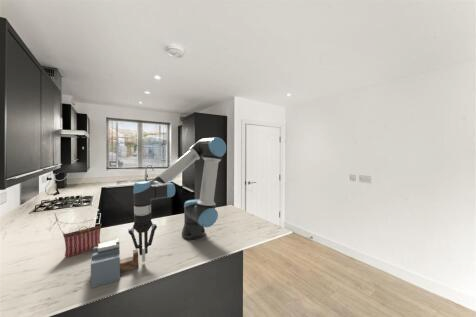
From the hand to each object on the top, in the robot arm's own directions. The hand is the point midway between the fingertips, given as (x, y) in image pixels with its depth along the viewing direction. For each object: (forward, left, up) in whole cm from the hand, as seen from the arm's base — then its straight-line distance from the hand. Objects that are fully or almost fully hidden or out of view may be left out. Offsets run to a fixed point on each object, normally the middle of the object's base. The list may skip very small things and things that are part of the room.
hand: (143, 260), depth 95 cm
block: (+15, 0, -2) cm, 15 cm away
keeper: (+14, 0, +8) cm, 16 cm away
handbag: (+28, -27, -2) cm, 39 cm away
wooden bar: (+12, 0, -2) cm, 13 cm away
